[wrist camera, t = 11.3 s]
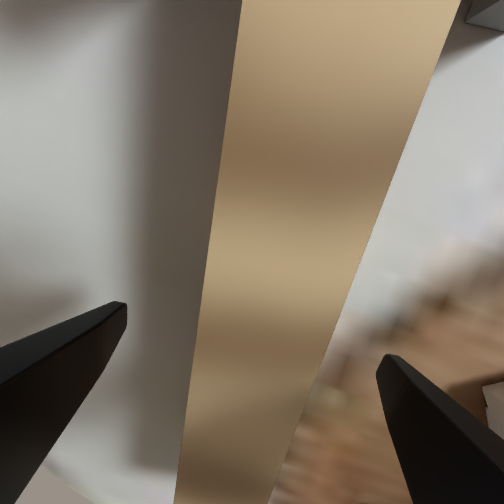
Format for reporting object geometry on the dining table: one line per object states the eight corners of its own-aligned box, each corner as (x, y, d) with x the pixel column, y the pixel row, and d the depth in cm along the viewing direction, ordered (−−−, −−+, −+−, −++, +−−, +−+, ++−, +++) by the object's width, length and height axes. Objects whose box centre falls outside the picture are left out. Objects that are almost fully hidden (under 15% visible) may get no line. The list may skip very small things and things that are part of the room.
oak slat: (250, 452, 18) (246, 558, 13) (192, 442, 18) (167, 546, 13) (409, -74, 8) (598, -359, 4) (280, -104, 8) (303, -442, 3)
